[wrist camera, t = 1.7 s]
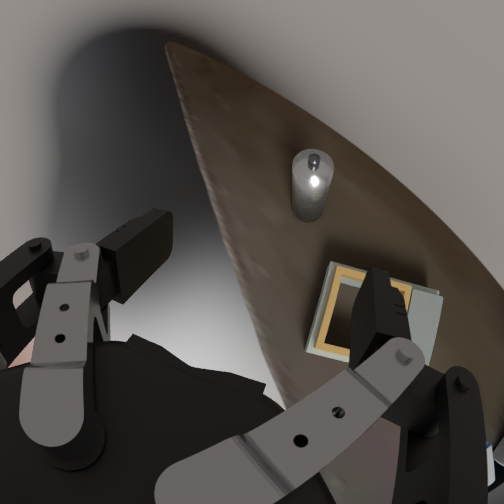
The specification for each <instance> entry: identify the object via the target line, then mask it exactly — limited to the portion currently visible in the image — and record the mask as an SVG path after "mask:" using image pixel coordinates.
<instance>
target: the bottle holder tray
mask: <svg viewBox="0 0 504 504" xmlns="http://www.w3.org/2000/svg"><path fill="white" fill-rule="evenodd" d="M366 273H367V271H365V270H362V269H358V268H354V267H351V266H347V265H343V264H340V263H336V262H332V261H331V262H330V264H329V265H328V267H327V270H326V274H325V278H324V282H323V286H322V290H321V293H320V297H319V301H318V305H317V308H316V312H315V315H314V319H313V322H312V326H311V329H310V333H309V336H308V339H307V343H306V346H305V349H304V350H305V351H306V352H308V353H312V354H316V355H320V356H324V357H328V358H332V359H336V360H340V361H345V362H349V355H350V349H346V348H342V347H338V346H334V345H330V344H326V343H324V341H325V338H326V334H327V331H328V327H329V324H330V320H331V316H332V313H333V309H334V305H335V301H336V298H337V294H338V290H339V286H340V283H344V284H347V285H351V286H355V287H359V288H360V287H361V285H362V283H363V280H364V278H365V276H366ZM390 281H391V286H393V287H396V288H398V289H399V291H400V292H401V294H402V295H403V297H404V300H405V305H406V308H405V309H406V310H407V317H408V321H409V327H410V333H411V339H412V342H414V343H415V344H416V345H417V346H418V347H419V348H420V349H421V350H422V352H423V354H424V357H425V364H426V365H427V366H429V362H430V358H431V354H432V350H433V346H434V342H435V338H436V333H437V329H438V324H439V319H440V313H441V308H442V302H443V297H441V296H438V295H439V291H438V290H434V289H430V288H427V287H423V286H420V285H416V284H413V283H409V282H405V281H402V280H398V279H395V278H391V277H390Z"/></svg>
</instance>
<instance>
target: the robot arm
mask: <svg viewBox="0 0 504 504" xmlns="http://www.w3.org/2000/svg"><path fill="white" fill-rule="evenodd" d="M172 246H173V215H172V213H171V212H169V211H165V210H161V209H157V208H153V209H152V210H150V211H149V212H147V213H146V214H144V215H143V216H140V217H137V218H134V219H131V220H129V221H128V222H126V223H125V224H123V225H122V227H119V228H118V229H116V231H113V232H112V233H110V234H109V235H108V236H106V237H105V238H103V239H102V240H101V241H99V242H98V243H96V244H93V243H87V242H86V243H78V244H75V245H73V246H71V247H69V248H68V249H67V250H66V251H65V252H56V251H53V250H52V246H51V241H50V240H49V239H47V238H35V239H32V240H30V241H27V242H26V243H25V244H23V245H22V246H20V247H19V248H18V249H17V250H15V251H14V252H12V253H11V254H10V255H8V256H7V257H6V258H4V259H3V260H2V261H0V504H336V502H335V500H334V498H333V497H332V495H331V493H330V491H329V489H328V487H327V485H326V483H325V482H324V480H323V478H322V476H321V474H320V471H321V470H322V469H324V468H325V467H326V466H327V465H328V464H330V463H331V462H332V461H333V460H335V459H336V458H337V457H338V456H339V455H340V454H342V453H343V452H344V451H345V450H346V449H347V448H348V447H349V446H351V445H352V444H353V443H354V442H355V441H356V440H357V439H358V438H359V437H360V436H361V435H362V434H364V433H365V432H366V431H367V430H368V429H369V428H370V427H371V426H372V425H373V424H374V423H375V422H376V421H377V420H378V419H379V418H380V417H382V418H384V419H386V420H388V421H390V422H392V423H394V424H396V425H398V426H400V427H401V432H400V445H399V455H398V464H397V472H396V480H395V487H394V493H393V499H392V504H487V502H488V464H487V447H486V435H485V426H484V418H483V411H482V404H481V398H480V392H479V386H478V383H477V381H476V379H475V377H474V376H473V375H472V374H471V373H470V372H469V371H468V370H467V369H465V368H463V367H459V366H454V367H451V368H450V369H448V371H447V372H446V373H445V374H443V373H441V372H439V371H437V370H435V369H433V368H431V367H429V366H427V365H426V364H425V357H424V354H423V352H422V350H421V349H420V348H419V347H418V346H417V345H416V344H415V343H414V342H412V339H411V333H410V327H409V321H408V317H407V310H406V309H405V308H406V305H405V300H404V297H403V295H402V294H401V292H400V291H399V289H398V288H396V287H393V286H391V281H390V276H389V272H387V271H384V270H380V269H377V268H374V267H370V268H369V269H368V271H367V273H366V276H365V278H364V280H363V283H362V285H361V287H360V290H359V292H358V294H357V297H356V299H355V302H354V305H353V309H352V318H351V339H350V355H349V368H347V369H345V370H344V371H342V372H341V373H340V374H338V375H337V376H336V377H334V378H333V379H331V380H330V381H329V382H327V383H326V384H324V385H323V386H322V387H320V388H319V389H317V390H316V391H314V392H313V393H311V394H310V395H309V396H307V397H306V398H304V399H303V400H301V401H299V402H298V403H296V404H295V405H293V406H292V407H290V408H289V409H287V410H284V409H283V408H282V407H281V406H280V405H278V404H277V403H276V402H275V401H273V400H272V399H270V398H269V397H267V396H266V395H264V394H263V392H264V389H265V386H266V384H265V383H261V382H258V381H254V380H252V379H248V378H245V377H242V376H239V375H236V374H233V373H229V372H222V371H215V370H207V369H201V368H195V367H191V366H189V365H187V364H186V363H184V362H183V361H181V360H180V359H179V358H177V357H176V356H174V355H173V354H172V353H170V352H169V351H167V350H166V349H165V348H163V347H162V346H160V345H157V344H155V343H153V342H150V341H148V340H146V339H143V338H141V337H139V336H137V335H134V334H132V336H131V337H130V338H129V339H128V341H127V342H122V341H110V307H109V302H110V301H111V300H114V301H116V302H118V303H121V304H124V303H125V302H126V301H127V300H128V299H129V298H130V297H131V296H132V295H133V294H134V292H136V291H137V289H138V288H139V287H140V286H141V285H142V284H143V283H144V282H145V281H146V280H147V279H148V278H149V277H150V276H151V275H152V274H153V273H154V272H155V271H156V270H157V269H158V268H159V267H160V266H161V265H162V264H163V263H164V262H165V261H166V260H167V259H168V258H169V256H170V254H171V251H172ZM28 280H29V282H30V285H31V288H32V291H33V293H32V294H31V295H30V296H29V297H28V298H27V299H26V300H25V301H24V302H23V303H22V304H21V305H20V306H19V307H18V308H17V309H15V307H14V305H13V295H14V293H15V292H16V291H17V290H18V288H20V287H21V286H22V285H23V284H24V283H26V282H27V281H28ZM34 337H35V341H34V346H33V352H32V358H31V362H29V363H25V364H21V365H18V366H14V367H11V368H8V367H9V365H10V364H11V363H12V362H13V361H14V359H15V358H16V357H17V356H18V355H19V353H21V351H22V350H23V349H24V348H25V347H26V346H27V345H28V343H29V342H30V341H31V340H32V339H33V338H34Z"/></svg>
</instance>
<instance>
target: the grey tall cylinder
mask: <svg viewBox="0 0 504 504" xmlns="http://www.w3.org/2000/svg"><path fill="white" fill-rule="evenodd" d="M333 172H334V164H333V161H332V159H331V158H330V157H329V156H328V155H327V154H326V153H324V152H323V151H320V150H317V149H307V150H303V151H301V152H300V153H298V154H297V155H296V156H295V158H294V160H293V165H292V211H293V214H294V215H295V217H296V218H298V219H299V220H301V221H303V222H313V221H316V220H317V219H319V218H320V217H321V215H322V213H323V210H324V206H325V203H326V199H327V195H328V191H329V187H330V184H331V180H332V176H333Z"/></svg>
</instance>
